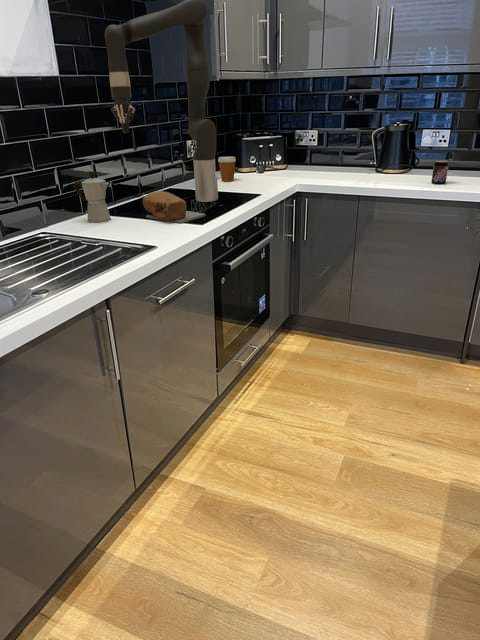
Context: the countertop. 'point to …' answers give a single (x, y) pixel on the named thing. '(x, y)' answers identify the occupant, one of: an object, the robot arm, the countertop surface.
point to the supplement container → (440, 172)
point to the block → (165, 205)
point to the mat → (187, 218)
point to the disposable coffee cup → (227, 168)
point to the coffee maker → (94, 198)
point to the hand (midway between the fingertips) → (126, 133)
